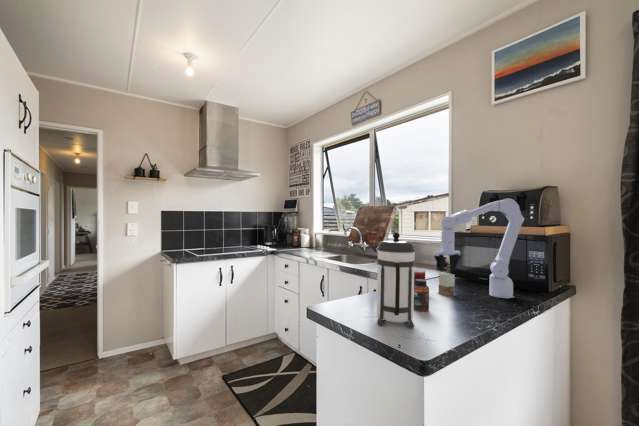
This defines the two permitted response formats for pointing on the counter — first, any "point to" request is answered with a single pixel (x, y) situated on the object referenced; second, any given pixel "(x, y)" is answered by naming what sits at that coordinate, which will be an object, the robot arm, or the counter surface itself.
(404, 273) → the coffee press
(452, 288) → the walnut block
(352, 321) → the counter surface
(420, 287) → the supplement bottle
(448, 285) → the sage block
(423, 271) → the canned food
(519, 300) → the counter surface
